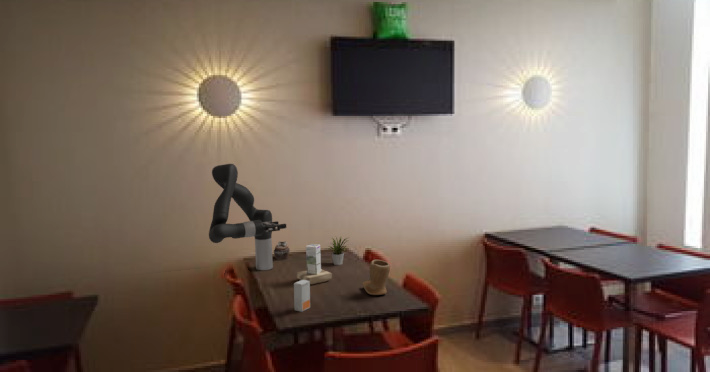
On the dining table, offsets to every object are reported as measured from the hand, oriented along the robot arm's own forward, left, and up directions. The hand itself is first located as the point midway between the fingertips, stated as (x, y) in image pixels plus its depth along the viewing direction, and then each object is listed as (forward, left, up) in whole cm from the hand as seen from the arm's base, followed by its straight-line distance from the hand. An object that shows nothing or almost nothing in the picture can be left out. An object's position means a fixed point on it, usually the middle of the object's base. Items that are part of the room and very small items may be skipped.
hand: (282, 224), depth 244 cm
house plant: (-12, +42, -30) cm, 53 cm away
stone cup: (+40, +28, -30) cm, 58 cm away
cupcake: (-46, +22, -30) cm, 59 cm away
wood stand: (+6, +14, -30) cm, 34 cm away
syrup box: (+6, +14, -26) cm, 30 cm away
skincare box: (+38, -11, -30) cm, 50 cm away
